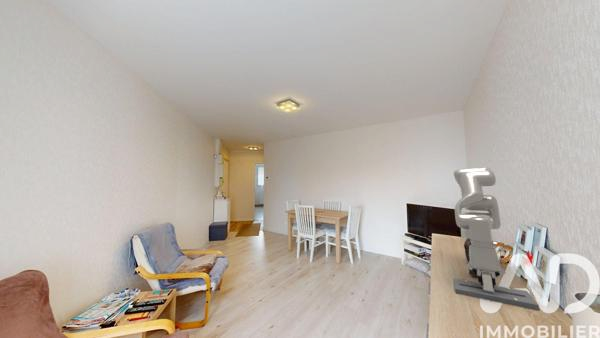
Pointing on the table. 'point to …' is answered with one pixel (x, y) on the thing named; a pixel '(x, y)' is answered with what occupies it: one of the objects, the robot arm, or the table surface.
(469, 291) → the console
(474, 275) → the statue
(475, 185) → the robot arm
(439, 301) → the table surface
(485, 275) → the fader
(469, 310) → the table surface
